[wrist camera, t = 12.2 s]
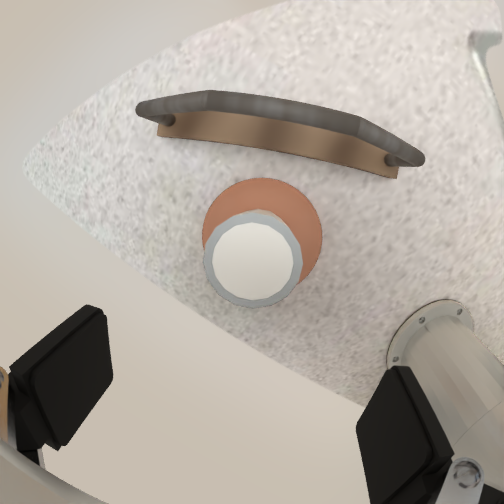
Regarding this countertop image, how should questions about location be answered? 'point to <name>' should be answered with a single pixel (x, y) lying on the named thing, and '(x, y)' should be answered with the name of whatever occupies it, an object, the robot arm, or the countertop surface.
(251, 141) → the arched handle
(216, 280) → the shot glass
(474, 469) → the robot arm
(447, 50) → the countertop surface
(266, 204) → the coaster
